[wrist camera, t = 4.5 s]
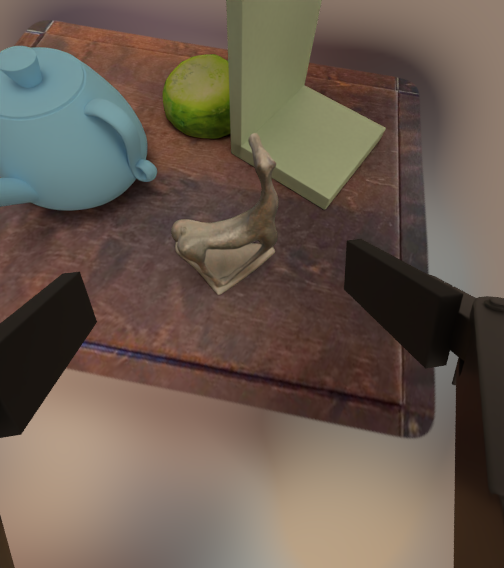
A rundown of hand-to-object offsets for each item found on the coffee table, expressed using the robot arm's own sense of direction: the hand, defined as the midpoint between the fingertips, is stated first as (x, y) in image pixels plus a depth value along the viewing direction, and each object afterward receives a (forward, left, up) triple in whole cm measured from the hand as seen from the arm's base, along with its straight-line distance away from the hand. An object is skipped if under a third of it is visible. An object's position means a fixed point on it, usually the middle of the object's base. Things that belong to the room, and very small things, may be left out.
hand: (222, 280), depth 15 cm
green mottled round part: (+21, -23, -15) cm, 35 cm away
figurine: (+5, -6, -15) cm, 17 cm away
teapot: (+25, -4, -15) cm, 30 cm away
